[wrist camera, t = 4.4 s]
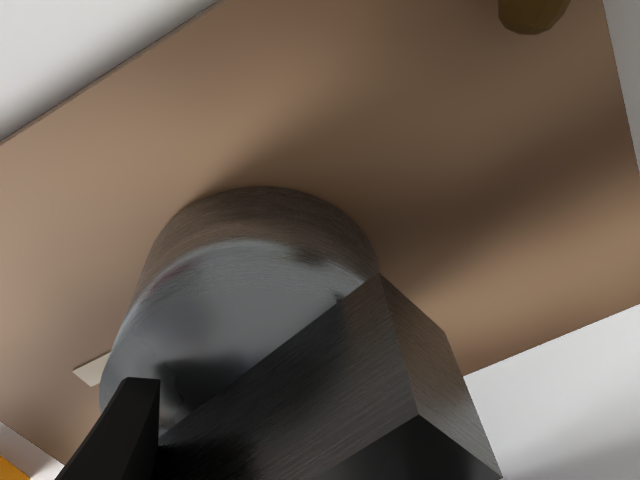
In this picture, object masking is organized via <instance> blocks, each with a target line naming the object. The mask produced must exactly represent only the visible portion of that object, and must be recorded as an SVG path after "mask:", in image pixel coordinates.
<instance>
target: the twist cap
mask: <svg viewBox="0 0 640 480" xmlns="http://www.w3.org/2000/svg"><path fill="white" fill-rule="evenodd" d="M127 377H138V378H151V379H160V408H159V438H158V449H157V454H156V458H155V462H154V467H153V471H152V476H151V480H499V479H501V478H503V476H502V473H501V471H500V468H499V466H498V464H497V461H496V459H495V456H494V454H493V451H492V449H491V446H490V444H489V441H488V439H487V436H486V434H485V431H484V429H483V426H482V424H481V421H480V419H479V416H478V414H477V411H476V409H475V406H474V404H473V401H472V399H471V396H470V394H469V391H468V389H467V386H466V384H465V381H464V379H463V376H462V374H461V371H460V369H459V366H458V364H457V361H456V359H455V356H454V354H453V351H452V349H451V346H450V344H449V341H448V339H447V336H446V334H445V332H444V330H442V329H441V328H440V327H439V326H438V325H437V324H436V323H435V322H434V321H432V320H431V319H430V318H429V317H428V316H427V315H426V314H425V313H424V312H423V311H421V310H420V309H419V308H418V307H417V306H416V305H415V304H414V303H413V302H411V301H410V300H409V299H408V298H407V297H406V296H405V295H404V294H403V293H402V292H400V291H399V290H398V289H397V288H396V287H395V286H394V285H393V284H392V283H390V282H389V281H388V280H387V279H386V278H385V277H384V276H383V275H382V273H381V270H380V266H379V263H378V259H377V256H376V253H375V251H374V249H373V246H372V244H371V242H370V241H369V239H368V238H367V236H366V235H365V233H364V232H363V230H362V229H361V228H360V227H359V226H358V225H357V224H356V223H355V222H354V221H353V220H352V219H351V218H350V217H349V216H348V215H346V214H345V213H344V212H343V211H341V210H340V209H338V208H337V207H335V206H333V205H332V204H330V203H329V202H327V201H324V200H322V199H320V198H318V197H316V196H313V195H310V194H307V193H304V192H301V191H297V190H293V189H287V188H282V187H269V186H254V187H242V188H236V189H230V190H226V191H223V192H219V193H216V194H213V195H210V196H208V197H206V198H203V199H201V200H199V201H197V202H195V203H193V204H192V205H190V206H188V207H187V208H185V209H184V210H182V211H181V212H180V213H179V214H177V215H176V216H175V217H174V218H172V219H171V220H170V221H169V222H168V224H167V225H166V226H165V227H164V228H163V229H162V230H161V232H160V233H159V235H158V236H157V238H156V239H155V241H154V242H153V245H152V247H151V249H150V251H149V254H148V256H147V259H146V261H145V264H144V266H143V269H142V272H141V274H140V277H139V279H138V282H137V285H136V287H135V290H134V292H133V295H132V297H131V300H130V303H129V305H128V308H127V310H126V313H125V315H124V318H123V321H122V323H121V326H120V328H119V331H118V334H117V336H116V339H115V341H114V344H113V346H112V349H111V352H110V354H109V357H108V359H107V362H106V364H105V367H104V370H103V372H102V376H101V381H100V385H99V406H100V411H101V414H102V413H103V411H104V409H105V408H106V406H107V405H108V403H109V401H110V400H111V398H112V396H113V395H114V393H115V391H116V390H117V388H118V386H119V384H120V383H121V381H122V380H123V379H125V378H127Z"/></svg>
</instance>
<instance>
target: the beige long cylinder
mask: <svg viewBox="0 0 640 480" xmlns="http://www.w3.org/2000/svg"><path fill="white" fill-rule="evenodd" d="M570 1H571V0H498V18H499V20H500V21H501V23H502V24H503V26H504V27H505V28H506V29H508V30H510V31H512V32H515V33H517V34H519V35H538V34H540V33H543V32H545V31H547V30H550V29H551V28H552V27H553V26H554V25H555V23H556V22H557V21H558V20H559V19H560V18H561V17H562V16H563V15H564V13H565V11H566V9H567V7H568V5H569V3H570Z"/></svg>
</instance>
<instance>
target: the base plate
mask: <svg viewBox="0 0 640 480" xmlns="http://www.w3.org/2000/svg"><path fill="white" fill-rule="evenodd" d="M254 186H269V187H282V188H287V189H293V190H297V191H301V192H304V193H307V194H310V195H313V196H316V197H318V198H320V199H322V200H324V201H327V202H329V203H330V204H332V205H333V206H335V207H337V208H338V209H340V210H341V211H343V212H344V213H345V214H346V215H348V216H349V217H350V218H351V219H352V220H353V221H354V222H355V223H356V224H357V225H358V226H359V227H360V228H361V229H362V230H363V232H364V233H365V235H366V236H367V238H368V239H369V241H370V242H371V244H372V246H373V249H374V251H375V253H376V256H377V259H378V263H379V266H380V270H381V273H382V275H383V276H384V277H385V278H386V279H387V280H388V281H389V282H390V283H392V284H393V285H394V286H395V287H396V288H397V289H398V290H399V291H400V292H402V293H403V294H404V295H405V296H406V297H407V298H408V299H409V300H410V301H411V302H413V303H414V304H415V305H416V306H417V307H418V308H419V309H420V310H421V311H423V312H424V313H425V314H426V315H427V316H428V317H429V318H430V319H431V320H432V321H434V322H435V323H436V324H437V325H438V326H439V327H440V328H441V329H442V330H444V332H445V334H446V336H447V339H448V341H449V344H450V346H451V349H452V351H453V354H454V356H455V359H456V361H457V364H458V366H459V369H460V371H461V374H462V376H465V375H468V374H470V373H473V372H475V371H477V370H480V369H482V368H485V367H487V366H490V365H492V364H494V363H497V362H499V361H502V360H504V359H507V358H509V357H511V356H514V355H516V354H519V353H521V352H524V351H526V350H528V349H531V348H533V347H536V346H538V345H541V344H543V343H546V342H548V341H550V340H553V339H555V338H558V337H560V336H563V335H565V334H567V333H570V332H572V331H575V330H577V329H580V328H582V327H584V326H587V325H589V324H592V323H594V322H597V321H599V320H601V319H604V318H606V317H609V316H611V315H614V314H616V313H619V312H621V311H623V310H626V309H628V308H631V307H633V306H636V305H638V304H640V175H639V171H638V166H637V161H636V156H635V152H634V147H633V142H632V138H631V133H630V128H629V124H628V119H627V114H626V109H625V105H624V100H623V95H622V91H621V86H620V81H619V77H618V72H617V67H616V62H615V58H614V53H613V48H612V44H611V39H610V34H609V30H608V25H607V20H606V15H605V11H604V6H603V1H602V0H571V1H570V3H569V5H568V7H567V9H566V11H565V13H564V15H563V16H562V17H561V18H560V19H559V20H558V21H557V22H556V23H555V25H554V26H553V27H552V28H551V29H550V30H547V31H545V32H543V33H540V34H538V35H519V34H517V33H515V32H512V31H510V30H508V29H506V28H505V27H504V26H503V24H502V23H501V21H500V20H499V18H498V0H219V1H218V2H216V3H214V4H213V5H211V6H210V7H208V8H207V9H205V10H204V11H202V12H200V13H199V14H197V15H196V16H194V17H193V18H191V19H190V20H188V21H187V22H185V23H183V24H182V25H180V26H179V27H177V28H176V29H174V30H173V31H171V32H169V33H168V34H166V35H165V36H163V37H162V38H160V39H159V40H157V41H155V42H154V43H152V44H151V45H149V46H148V47H146V48H145V49H143V50H142V51H140V52H138V53H137V54H135V55H134V56H132V57H131V58H129V59H128V60H126V61H124V62H123V63H121V64H120V65H118V66H117V67H115V68H114V69H112V70H110V71H109V72H107V73H106V74H104V75H103V76H101V77H100V78H98V79H97V80H95V81H93V82H92V83H90V84H89V85H87V86H86V87H84V88H83V89H81V90H79V91H78V92H76V93H75V94H73V95H72V96H70V97H69V98H67V99H65V100H64V101H62V102H61V103H59V104H58V105H56V106H55V107H53V108H52V109H50V110H48V111H47V112H45V113H44V114H42V115H41V116H39V117H38V118H36V119H34V120H33V121H31V122H30V123H28V124H27V125H25V126H24V127H22V128H20V129H19V130H17V131H16V132H14V133H13V134H11V135H10V136H8V137H6V138H5V139H3V140H2V141H0V421H1V422H2V423H4V424H5V425H6V426H8V427H9V428H11V429H12V430H14V431H15V432H17V433H18V434H20V435H21V436H23V437H24V438H25V439H27V440H28V441H30V442H31V443H33V444H34V445H36V446H37V447H39V448H40V449H41V450H43V451H44V452H46V453H47V454H49V455H50V456H52V457H53V458H55V459H56V460H58V461H59V462H60V463H62V464H63V465H66V464H67V462H68V461H69V460H70V458H71V457H72V455H73V454H74V453H75V451H76V450H77V449H78V447H79V446H80V445H81V443H82V442H83V441H84V439H85V438H86V436H87V435H88V433H89V432H90V430H91V429H92V427H93V426H94V425H95V423H96V422H97V420H98V419H99V417H100V416H101V411H100V406H99V385H100V381H101V376H102V372H103V370H104V367H105V364H106V362H107V359H108V357H109V354H110V352H111V349H112V346H113V344H114V341H115V339H116V336H117V334H118V331H119V328H120V326H121V323H122V321H123V318H124V315H125V313H126V310H127V308H128V305H129V303H130V300H131V297H132V295H133V292H134V290H135V287H136V285H137V282H138V279H139V277H140V274H141V272H142V269H143V266H144V264H145V261H146V259H147V256H148V254H149V251H150V249H151V247H152V245H153V242H154V241H155V239H156V238H157V236H158V235H159V233H160V232H161V230H162V229H163V228H164V227H165V226H166V225H167V224H168V222H169V221H170V220H171V219H172V218H174V217H175V216H176V215H177V214H179V213H180V212H181V211H182V210H184V209H185V208H187V207H188V206H190V205H192V204H193V203H195V202H197V201H199V200H201V199H203V198H206V197H208V196H210V195H213V194H216V193H219V192H223V191H226V190H230V189H236V188H242V187H254Z"/></svg>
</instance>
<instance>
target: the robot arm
mask: <svg viewBox="0 0 640 480" xmlns="http://www.w3.org/2000/svg"><path fill="white" fill-rule="evenodd" d="M159 408H160V379H151V378H138V377H127V378H125V379H123V380H122V381H121V383H120V384H119V386H118V388H117V390H116V391H115V393H114V395H113V396H112V398H111V400H110V401H109V403H108V405H107V406H106V408H105V409H104V411H103V413H102V414H101V416H100V417H99V419H98V420H97V422H96V423H95V425H94V426H93V427H92V429H91V430H90V432H89V433H88V435H87V436H86V438H85V439H84V441H83V442H82V443H81V445H80V446H79V447H78V449H77V450H76V451H75V453H74V454H73V455H72V457H71V458H70V460H69V461H68V462H67V464H66V465H65V466H64V468H63V469H62V470H61V472H60V473H59V474H58V476H57V477H56V478H55V480H151V476H152V471H153V467H154V462H155V458H156V454H157V449H158V438H159Z"/></svg>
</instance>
